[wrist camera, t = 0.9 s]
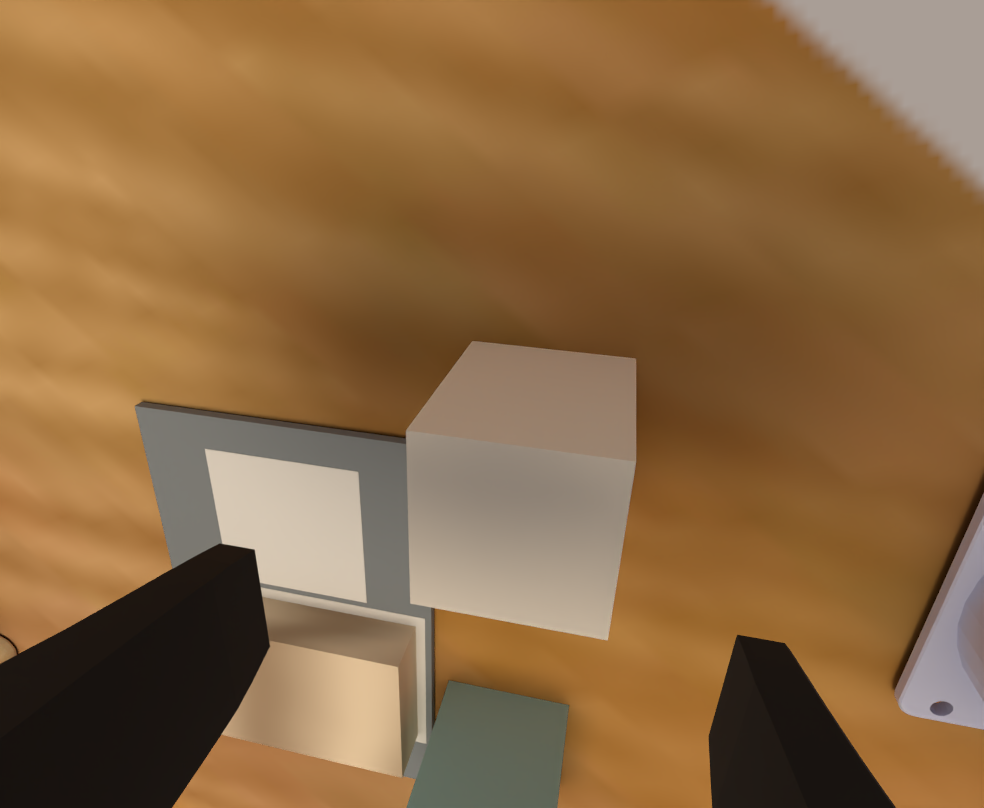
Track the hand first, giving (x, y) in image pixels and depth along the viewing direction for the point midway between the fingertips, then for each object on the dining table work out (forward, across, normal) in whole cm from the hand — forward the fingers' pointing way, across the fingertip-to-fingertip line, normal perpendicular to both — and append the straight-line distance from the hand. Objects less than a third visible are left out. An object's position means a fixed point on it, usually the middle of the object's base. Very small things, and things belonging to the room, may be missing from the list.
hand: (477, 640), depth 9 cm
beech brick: (+7, +7, +10) cm, 14 cm away
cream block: (+8, 0, 0) cm, 8 cm away
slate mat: (+7, +7, +8) cm, 13 cm away
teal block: (+8, 0, +12) cm, 14 cm away
